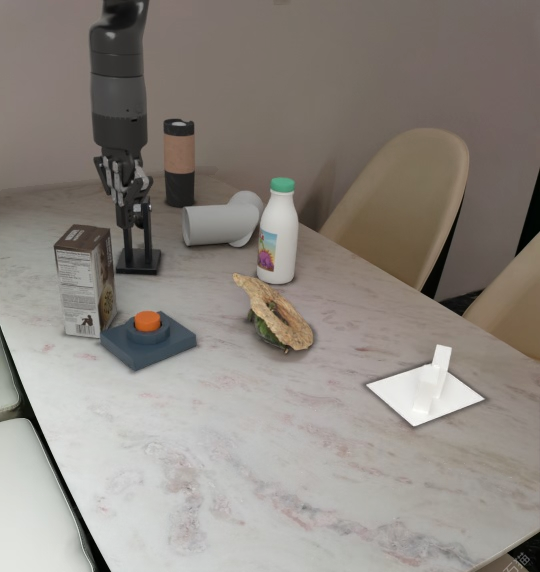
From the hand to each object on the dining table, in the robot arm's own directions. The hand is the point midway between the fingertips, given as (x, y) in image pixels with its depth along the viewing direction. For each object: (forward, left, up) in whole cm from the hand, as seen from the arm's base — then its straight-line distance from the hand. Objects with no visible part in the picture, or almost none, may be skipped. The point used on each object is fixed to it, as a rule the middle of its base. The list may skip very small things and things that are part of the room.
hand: (125, 227), depth 92 cm
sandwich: (+19, -16, -19) cm, 31 cm away
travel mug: (+44, +46, -19) cm, 67 cm away
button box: (-1, -6, -18) cm, 19 cm away
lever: (+17, +24, -11) cm, 31 cm away
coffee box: (-4, +6, -19) cm, 20 cm away
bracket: (+15, +21, -18) cm, 32 cm away
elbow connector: (+38, +22, -19) cm, 48 cm away
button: (-1, -6, -15) cm, 16 cm away
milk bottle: (+34, 0, -19) cm, 39 cm away
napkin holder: (+25, -43, -19) cm, 53 cm away
